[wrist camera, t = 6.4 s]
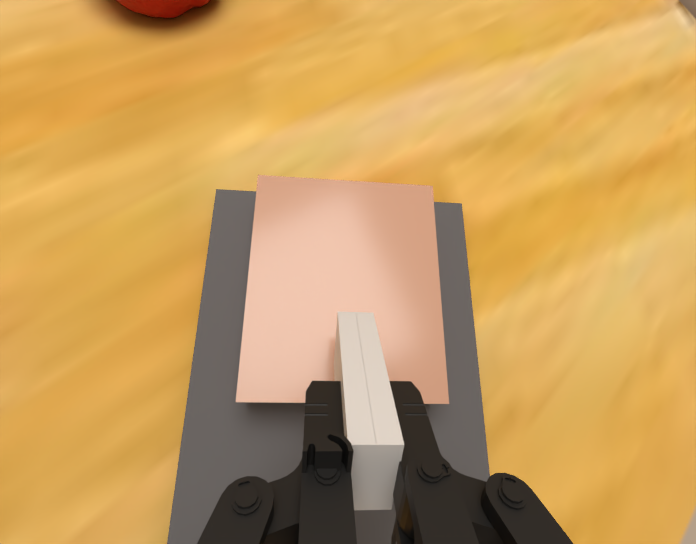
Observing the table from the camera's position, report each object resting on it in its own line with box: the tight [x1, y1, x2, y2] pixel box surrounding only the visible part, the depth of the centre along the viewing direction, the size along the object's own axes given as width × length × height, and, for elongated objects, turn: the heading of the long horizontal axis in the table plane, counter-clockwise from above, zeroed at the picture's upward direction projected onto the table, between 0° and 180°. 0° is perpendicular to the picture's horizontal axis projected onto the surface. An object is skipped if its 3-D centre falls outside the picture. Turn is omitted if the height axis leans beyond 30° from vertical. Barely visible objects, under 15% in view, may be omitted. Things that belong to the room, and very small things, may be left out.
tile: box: [236, 175, 449, 404], centre depth 21 cm, size 10×3×12 cm
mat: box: [167, 189, 490, 544], centre depth 22 cm, size 16×21×1 cm
